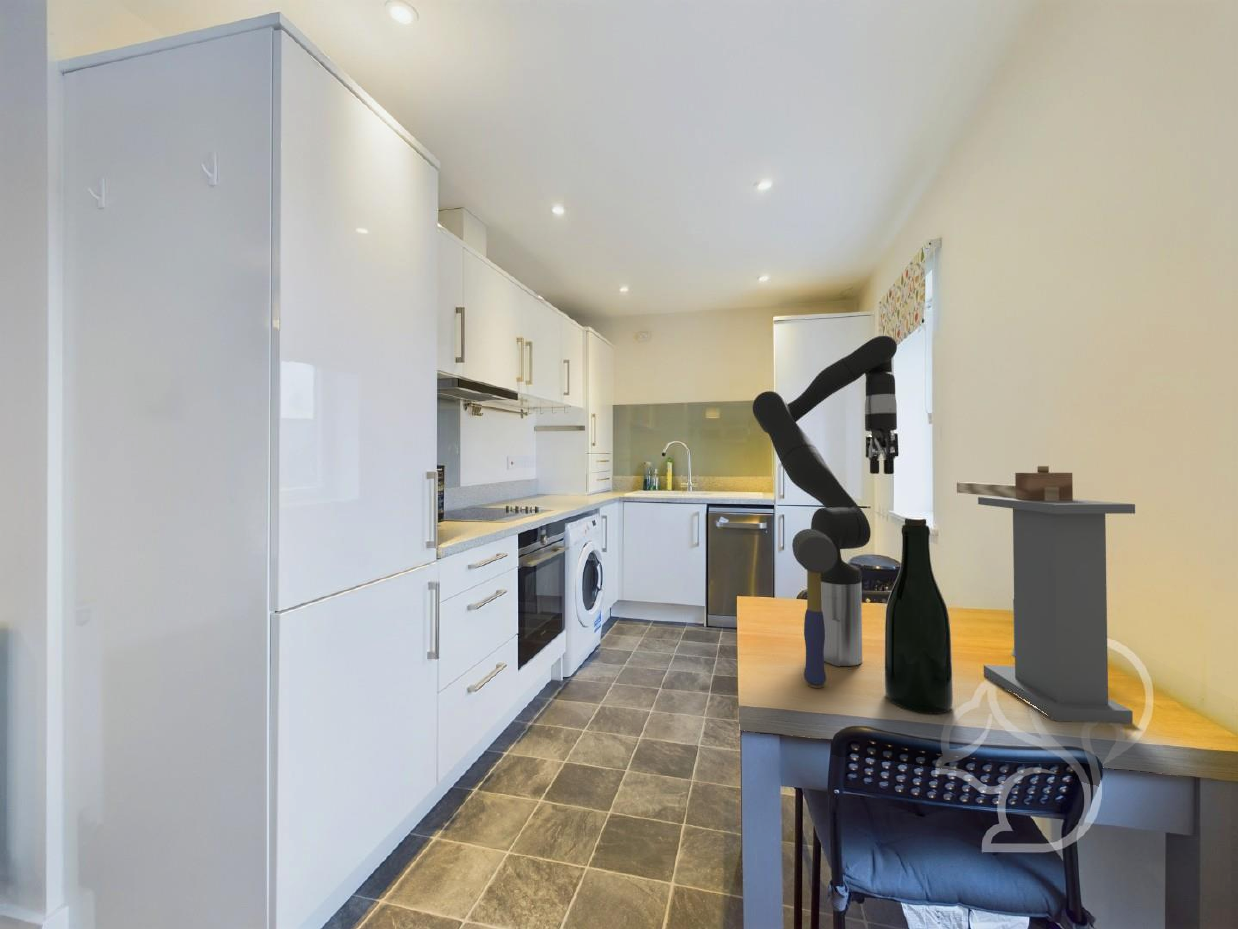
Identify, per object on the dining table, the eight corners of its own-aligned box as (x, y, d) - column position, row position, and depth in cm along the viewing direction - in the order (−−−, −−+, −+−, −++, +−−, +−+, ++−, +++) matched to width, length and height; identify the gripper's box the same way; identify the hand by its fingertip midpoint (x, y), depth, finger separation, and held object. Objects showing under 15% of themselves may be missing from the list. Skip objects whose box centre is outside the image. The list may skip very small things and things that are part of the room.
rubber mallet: (842, 702, 89) (839, 535, 89) (797, 698, 91) (795, 534, 91) (830, 674, 101) (828, 527, 101) (791, 671, 103) (789, 526, 103)
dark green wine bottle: (944, 693, 92) (942, 515, 93) (960, 720, 83) (957, 521, 83) (881, 685, 96) (878, 514, 96) (889, 710, 86) (886, 520, 86)
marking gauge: (1072, 500, 90) (1072, 465, 90) (1031, 500, 90) (1030, 466, 90) (978, 492, 116) (977, 466, 116) (946, 492, 117) (946, 466, 117)
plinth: (1138, 726, 80) (1135, 504, 80) (1058, 723, 81) (1055, 504, 81) (1043, 674, 100) (1041, 496, 100) (980, 673, 101) (978, 497, 101)
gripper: (908, 409, 125) (909, 474, 125) (883, 415, 139) (884, 473, 139) (877, 410, 125) (878, 474, 125) (855, 415, 140) (856, 473, 139)
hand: (881, 473), depth 132 cm, fingers open, 8 cm apart
